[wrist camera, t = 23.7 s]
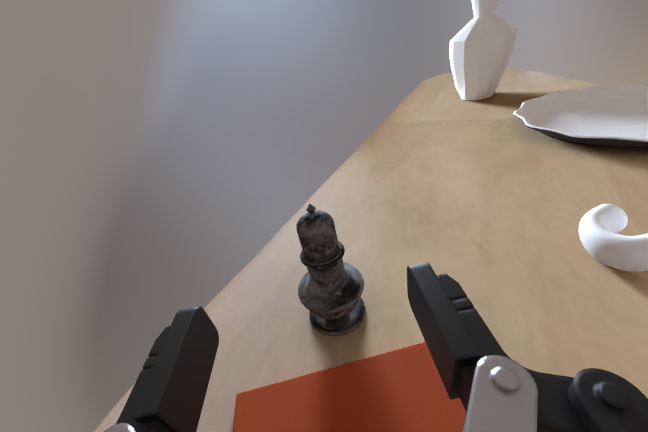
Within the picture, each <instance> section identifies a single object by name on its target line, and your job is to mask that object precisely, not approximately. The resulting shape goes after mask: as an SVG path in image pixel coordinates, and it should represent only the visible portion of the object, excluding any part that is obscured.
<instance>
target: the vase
mask: <svg viewBox="0 0 648 432" xmlns="http://www.w3.org/2000/svg"><path fill="white" fill-rule="evenodd" d="M497 3H498V0H472V6H473V11H474V18H473V19H472V20H471V21H470V22H469V23H468V24H467V25H466V26H465V27H464V28H463V29H462V30H461V31H460V32H459V33H458V34H457V35H456V36H455V37H454V38H452V39H451V41H450V52H449V55H450V63H451V69H452V73H453V77H454V82H455V86H456V89H457V91H458V92H459V95H460V97H461V99H462V100H481V99H485V98H489V97H491V96H492V95H493V93H494V92H495V90H496V89H497V87H498V85H499V82H500V80H501V77H502V75H503V73H504V70H505V68H506V66H507V63H508V61H509V59H510V56H511V53H512V50H513V47H514V44H515V38H516V31H517V29H516V28H514V27H513V26H511V25H510V24H509V23H507V22H506V21H504V20H503V19H501V18H500V17H498V16H497V15H495V14H494V11H495V9H496V6H497Z"/></svg>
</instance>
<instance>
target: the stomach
mask: <svg viewBox="0 0 648 432" xmlns="http://www.w3.org/2000/svg"><path fill="white" fill-rule="evenodd" d="M627 221H628V219H627V216H626V214H625V212H624V211H623V210H622V209H621V208H619V207H618V206H615V205H612V204H603V205H600V206H598V207H595V208H594V209H592V210H590V211H589V212H587V213H586V214H585V215H584V216H583V218H582V219H581V221H580V224H579V236H580V239H581V242H582V244H583V246H584V247H585V249H586V250H587V251H588V253H589V254H590V255H591V256H592V257H594V258H595V259H596V260H598V261H599V262H601V263H603V264H605V265H607V266H610V267H613V268H616V269H620V270H625V271H633V272H648V234H644V235H639V236H623V235H619V234H616V233H617V232H619V231H621V230H622V229H624V228H625V227H626V225H627Z"/></svg>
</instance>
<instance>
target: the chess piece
mask: <svg viewBox="0 0 648 432" xmlns="http://www.w3.org/2000/svg"><path fill="white" fill-rule="evenodd" d="M315 209H316V208H315V207H314V206H313V205H311V204H309V206H308V208H307V209H306V210H307V211H308V213H306V214H304V215H303V216H301V217H300V219H299V220H298V222H297V233H298V236H299V239H300V243H301V246H302V249H303V250H302V251H301V254H300V259H301V261H302V263H303V264H304V265H305V266H307V269H308V272H307V273H306V274H305V275H304V276H303V278H302V280H301V281H300V284H299V287H298V296H299V298H300V301H301V303H302V304H303V305H304V306H305V307H306V308H307V309H309V310H310V320H311V322H312V325H313V326H314V327H315V328H316V329H317V330H318V331H319V332H321V333H323V334H326V335H329V336H339V335H344V334H346V333H349V332H351V331H353V330H354V329H355V328H356V327H357V326H358V325H359V324H360V323H361V321H362V319H363V317H364V313H365V306H364V303H363V300H362V299H361V297H360V296H361V294H362V292H363V289H364V280H363V277H362V274H361V273H360V272H359V270H358V269H356V268H355V267H354V266H352V265H350V264H347V263H344V262H343V259H342V257H343V255H344V251H345V250H344V246H343V245H342V243H341V242H339V241H338V240H337V235H336V230H335V225H334V221H333V218H332V217H331V215H329V214H328V213H326V212H324V211H314V210H315Z"/></svg>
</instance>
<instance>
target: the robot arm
mask: <svg viewBox="0 0 648 432" xmlns="http://www.w3.org/2000/svg"><path fill="white" fill-rule="evenodd" d="M407 287H408V298H409V302H410V306H411V309H412V311H413V313H414V316H415V318H416V320H417V323H418V325H419V327H420V330H421V332H422V335H423V337H424V339H425V342H426V344H427V346H428V349H429V351H430V353H431V356H432V358H433V361H434V363H435V365H436V368H437V370H438V372H439V375H440V377H441V379H442V382H443V384H444V386H445V389H446V391H447V394H448V396H449V398H450V400H452V399H458V398H460V399H461V402H462V404H463V406H464V408H465V410H466V415H465V420H464V425H463V430H462V432H648V399H647V398H646V397H645V395H644V394H643V393H642V392H641V391H640V390H639V389H637V388H636V387H635V386H634V385H633V384H631V383H630V382H628V381H627V380H625V379H624V378H622V377H620V376H618V375H616V374H614V373H611V372H609V371H606V370H601V369H595V368H589V369H584V370H582V371H580V372H578V373H577V375H576V376H575V378H573V377H566V376H560V375H553V374H546V373H540V372H535V371H532V370H529V369H527V368H525V367H523V366H521V365H520V364H519V363H517V362H516V361H514V360H512V359H511V358H510V357H509V356H508V355H507V354H506V353H505V352H504V351H503V350H502V348H501V347H500V345H499V344H498V342H497V341H496V339H495V338H494V336H493V335H492V333H491V332H490V330H489V329H488V327H487V326H486V324H485V323H484V321H483V320H482V318H481V317H480V315H479V313H478V312H477V310H476V309H474V307H473V304H472V303H471V301H470V300H469V298H467V295H466V294H465V292H464V291H463V289H462V288H461V286H460V285H459V283H458V282H456V281H455V280H454V279H452V278H451V277H450V276H448V275H447V274H442V275H437V276H436V274H435V272H434V271H433V269H432V267H431V266H430V264H429V263H422V264H416V265H411V266H408V267H407ZM218 343H219V336H218V331H217V329H216V327H215V326H214V324H213V323H212V321H211V320H210V318H209V317H208V315H207V314H206V312H205V310H204V309H203V308H202V307H201V306H198V307H193V308H188V309H182V310H179V311H178V312H177V313H176V316H175V318H174V320H173V322H172V324H171V326H169V327H166V328H165V329H164V331H163V332H162V333H161V334H160V336H159V337H158V338H157V339H156V340H155V342H154V345H153V347H152V349H151V351H150V353H149V358H147V359H146V362H145V364H144V366H143V370H142V371H141V372H140V374H139V377H138V379H137V381H136V383H135V385H134V387H133V389H132V392H131V394H130V396H129V398H128V400H127V402H126V404H125V407H124V409H123V411H122V413H121V415H120V417H119V419H118V421H117V423H116V424H115V425H113V426H112V427H110V428H108V429H107V430H105V431H104V432H196V430H197V426H198V422H199V418H200V415H201V411H202V407H203V403H204V399H205V395H206V391H207V387H208V383H209V379H210V375H211V371H212V368H213V364H214V360H215V356H216V352H217V348H218Z"/></svg>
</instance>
